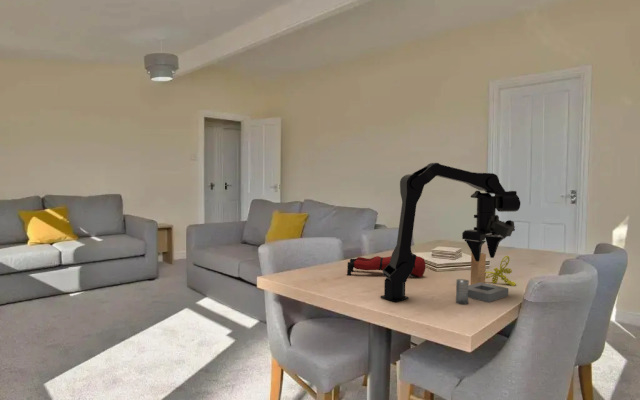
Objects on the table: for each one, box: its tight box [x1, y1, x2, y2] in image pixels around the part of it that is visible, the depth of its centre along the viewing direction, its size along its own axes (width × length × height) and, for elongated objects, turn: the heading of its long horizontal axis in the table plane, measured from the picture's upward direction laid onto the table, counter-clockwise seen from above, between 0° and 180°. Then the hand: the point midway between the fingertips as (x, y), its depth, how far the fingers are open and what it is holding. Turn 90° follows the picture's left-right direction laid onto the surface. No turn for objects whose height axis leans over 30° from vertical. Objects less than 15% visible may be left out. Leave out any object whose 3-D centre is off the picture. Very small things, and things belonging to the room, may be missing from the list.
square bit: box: [470, 252, 487, 285], centre depth 153 cm, size 3×3×12 cm
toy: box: [346, 255, 426, 278], centre depth 171 cm, size 28×8×30 cm
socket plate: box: [468, 282, 509, 303], centre depth 142 cm, size 12×10×2 cm
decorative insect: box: [485, 255, 517, 287], centre depth 158 cm, size 13×3×10 cm
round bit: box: [455, 278, 470, 306], centre depth 134 cm, size 4×4×7 cm
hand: (485, 259), depth 141 cm, fingers open, 9 cm apart
